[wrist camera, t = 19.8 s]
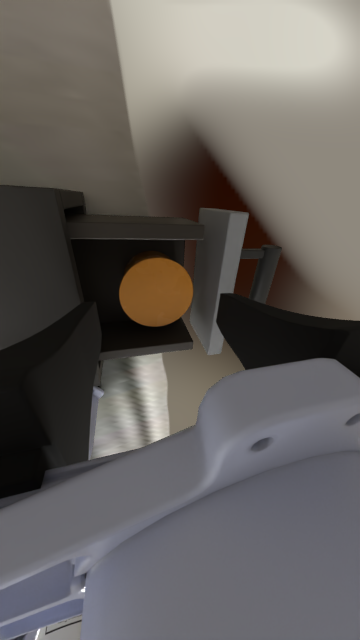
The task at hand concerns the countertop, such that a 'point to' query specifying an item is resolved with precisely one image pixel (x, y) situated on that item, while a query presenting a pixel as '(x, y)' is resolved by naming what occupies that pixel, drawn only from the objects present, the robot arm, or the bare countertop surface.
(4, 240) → the black drawer unit
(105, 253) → the pod drawer
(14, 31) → the countertop surface
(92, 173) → the countertop surface
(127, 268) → the cylinder
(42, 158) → the countertop surface
